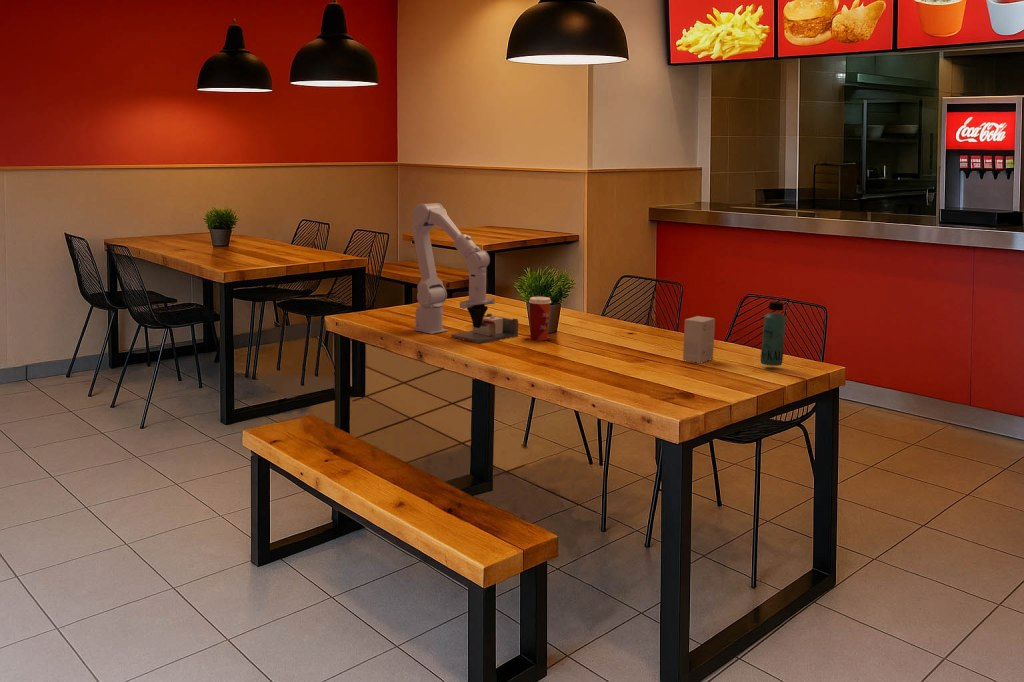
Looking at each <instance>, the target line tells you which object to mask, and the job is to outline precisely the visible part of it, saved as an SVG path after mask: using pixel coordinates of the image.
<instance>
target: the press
mask: <svg viewBox="0 0 1024 682" xmlns="http://www.w3.org/2000/svg"><path fill="white" fill-rule="evenodd" d="M490 316H493V315H492V313H487V314H486V315H485V317H490ZM494 316H495V317H499V318H503V333H498V334H495V335H493V336H486V335H481V334H477V333H473V330H468V331H463V332H462V331H461V332H458V333H451V334H450V337H451V338H452V337H454V338H453V339H457V338H459V339H458V340H461V339H464V340H463V341H466V340H468V341H467V342H470V341H472V342H471V343H475V342H476V343H475V344H479V343H482V344H486V343H485V342H487V343H490V341H492V342H496V341H495V340H497V341H501V340H500V339H502V340H506V339H505V338H507V339H511V338H510V337H512V338H516V337H515V336H517V337H519V320H518V318H506V317H502V316H496V315H494Z"/></svg>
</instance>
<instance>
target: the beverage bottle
mask: <svg viewBox="0 0 1024 682" xmlns="http://www.w3.org/2000/svg"><path fill="white" fill-rule="evenodd" d="M768 310H770V311H784V303H783V302H780V301H770V302H769V304H768ZM763 318H764V320H763V329H762V339H761V350H760V364H762V365H765V366H769V367H770V366H772V367H773V366H775V367H776V366H777V367H778V366H781V365H782V364H783V360H784V349H785V333H786V332H785V331H786V322H787V317H786V316H785V315H784V314H783V313H780V312H767V314H765V315H764V316H763Z"/></svg>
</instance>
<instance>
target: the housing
mask: <svg viewBox="0 0 1024 682" xmlns="http://www.w3.org/2000/svg"><path fill="white" fill-rule="evenodd" d="M495 316H496V315H492V316H490V317H486V316H484V317H483V319H484V320H489V321H494V322H495V323H496V325H495V334H498V333H503V318H504V317H503V318H499V317H500V316H498V317H495Z"/></svg>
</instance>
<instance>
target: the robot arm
mask: <svg viewBox="0 0 1024 682" xmlns="http://www.w3.org/2000/svg"><path fill="white" fill-rule="evenodd" d="M411 214H412V228H411V232H412V235H413V236H412V237H413V242H414V246H415V247H414V248H415V252H416V257H417V262H418V268H419V273H420V281H419V283H418V284H417V286H416V288H417V295H416V298H417V302H418V304H419V305H418V306H417V308H416V309H415V312H414V313H415V316H414V317H415V328H413V331H416V332H421V333H425V334H431V335H432V334H440V333H443V332H448V329H447V328H446V329H445V328H443V321H444V320H443V306H444V303H445V302H446V301H447V297H448V293H447V290H446V288H445V286H444V282H443V281H442V280H441V278H439V277H438V274H437V273H438V272H437V269H436V264H435V259H434V258H435V257H434V253H433V246H432V241H431V236H430V231H431V230H432V229H433V227H434V226H438V227H440V228H441V229H442V230H443V231H444V232H445V233H446V234H447V235H448V236H449V237H450V238H451V240H453V246H454V248H455V249H456V250H457V251H458V252H459V254H460V255H461V256H462V257H463V258H464V259H465V266H466V267H467V269H468V299H466V300H464V301H460V302H459V309H462V310H465V309H466V310H467V312H468V313H469V315H470V318H471V322H472V327H473V326H474V327H475V328H480V327H481V324H482V320H483V318H485V316H486V315H485V314H486V312H487V311H488V309H489V308H488V306H487V305H495V302H496V301H495V300H496V299H495V298H494V297H487V267H488V266H489V265H490V262H491V257H490V255H489V253H488V251H486V250H482V249H481V248H480V246H477V244H476V243H475V241H474V240H472V237H471V235H468V234H465V233H462V232H461V231H460V229H459V228H458V227H457V226H456V224H455V223H454V222H453V221H452V219H451V218H450V216H449V215H448V213H447V210H446V208H445V207H443V205H442V204H441V203H439V202H434V203H418V204H417V205H415V206H414V209H413V210H412V211H411Z"/></svg>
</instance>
